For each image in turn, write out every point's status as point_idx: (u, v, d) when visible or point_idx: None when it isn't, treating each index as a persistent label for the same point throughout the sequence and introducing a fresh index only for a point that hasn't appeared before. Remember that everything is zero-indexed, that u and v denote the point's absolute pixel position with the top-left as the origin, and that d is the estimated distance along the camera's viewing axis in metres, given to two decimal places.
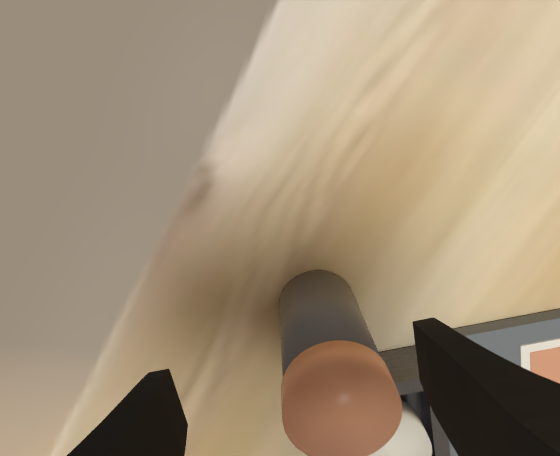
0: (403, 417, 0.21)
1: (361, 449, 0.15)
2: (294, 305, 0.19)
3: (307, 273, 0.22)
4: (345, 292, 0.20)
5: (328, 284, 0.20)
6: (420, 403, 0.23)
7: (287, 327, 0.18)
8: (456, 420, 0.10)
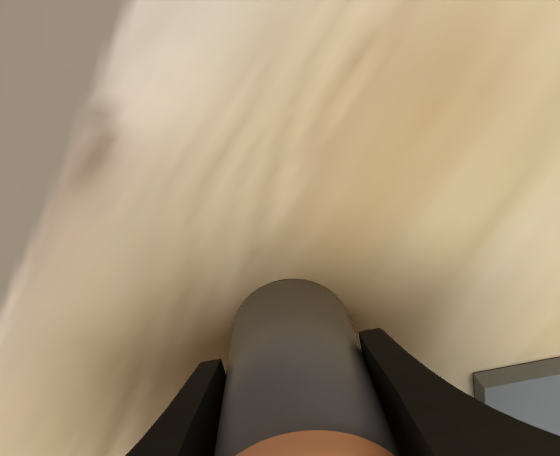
0: None
1: None
2: (245, 341, 0.11)
3: (275, 284, 0.14)
4: (334, 316, 0.12)
5: (306, 303, 0.12)
6: None
7: (230, 383, 0.10)
8: (391, 431, 0.10)
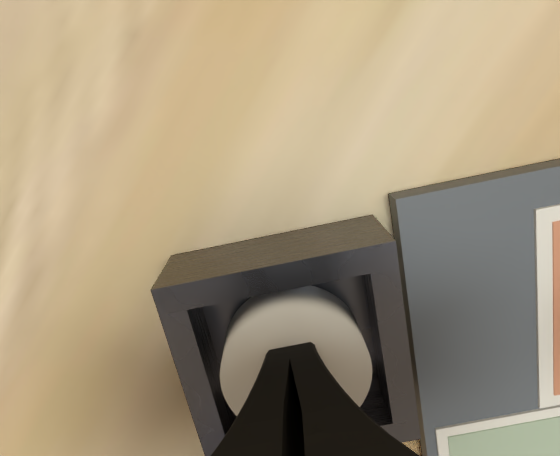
0: (319, 307, 0.12)
1: None
2: None
3: None
4: None
5: None
6: (366, 315, 0.14)
7: None
8: None
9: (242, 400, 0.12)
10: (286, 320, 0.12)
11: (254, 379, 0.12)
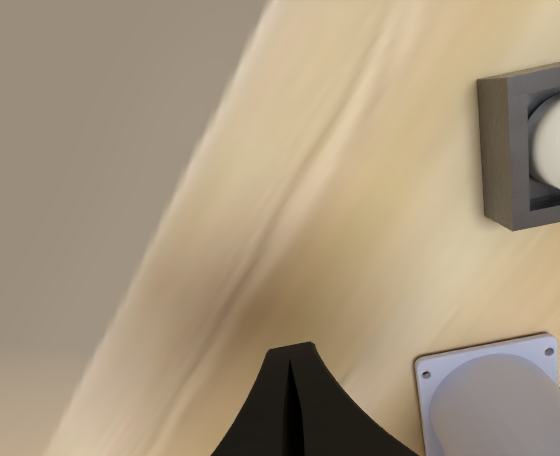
0: None
1: None
2: None
3: None
4: None
5: None
6: None
7: None
8: None
9: (553, 162, 0.18)
10: None
11: None
